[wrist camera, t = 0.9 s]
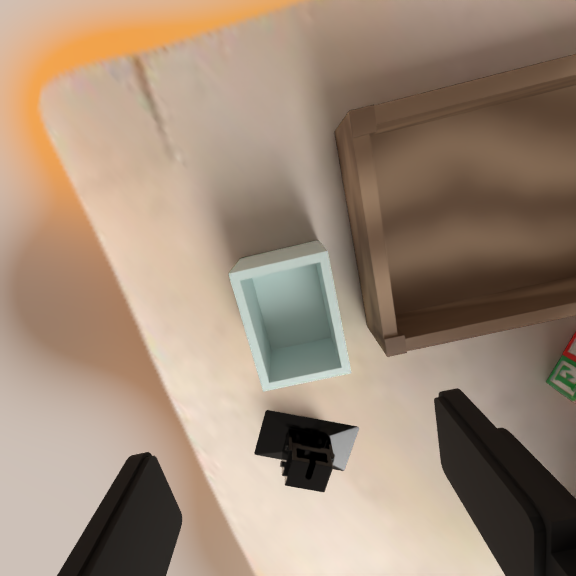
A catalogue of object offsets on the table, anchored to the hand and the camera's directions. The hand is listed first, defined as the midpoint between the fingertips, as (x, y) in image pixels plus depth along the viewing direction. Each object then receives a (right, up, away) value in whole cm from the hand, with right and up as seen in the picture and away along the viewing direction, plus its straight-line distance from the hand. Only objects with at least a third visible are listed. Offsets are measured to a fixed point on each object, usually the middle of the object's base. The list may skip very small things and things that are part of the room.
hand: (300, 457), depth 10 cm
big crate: (+15, +12, +14) cm, 23 cm away
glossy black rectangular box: (+1, -9, +21) cm, 23 cm away
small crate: (0, +4, +16) cm, 16 cm away
